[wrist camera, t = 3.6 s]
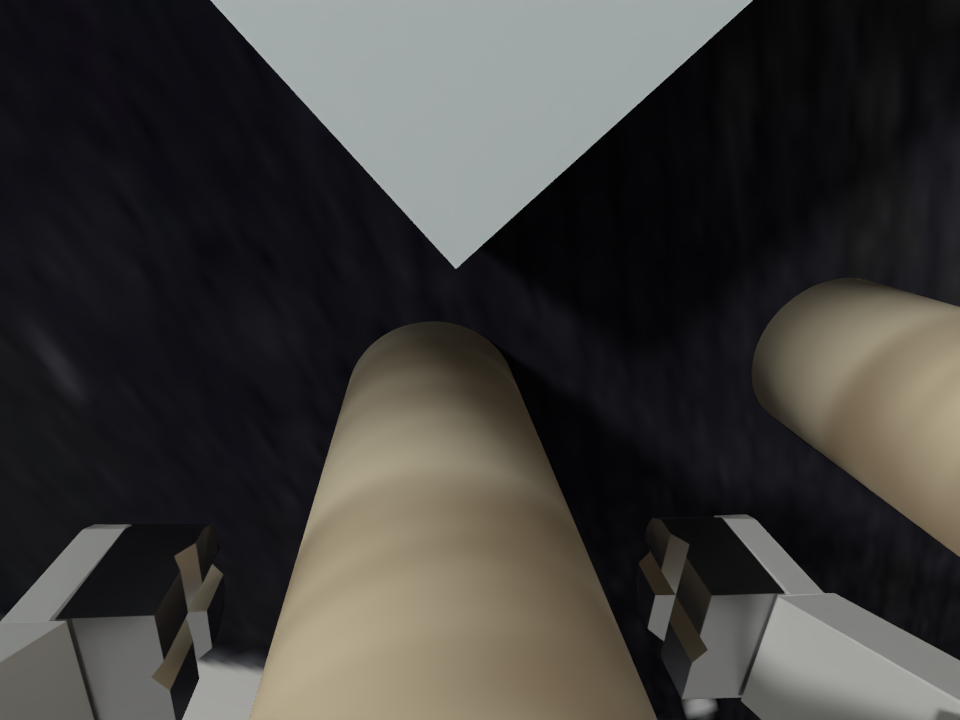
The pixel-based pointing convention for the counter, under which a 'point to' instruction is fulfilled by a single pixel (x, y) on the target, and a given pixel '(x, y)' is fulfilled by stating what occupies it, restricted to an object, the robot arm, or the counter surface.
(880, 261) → the counter surface
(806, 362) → the short pin
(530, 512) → the tall pin
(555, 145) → the hole board
